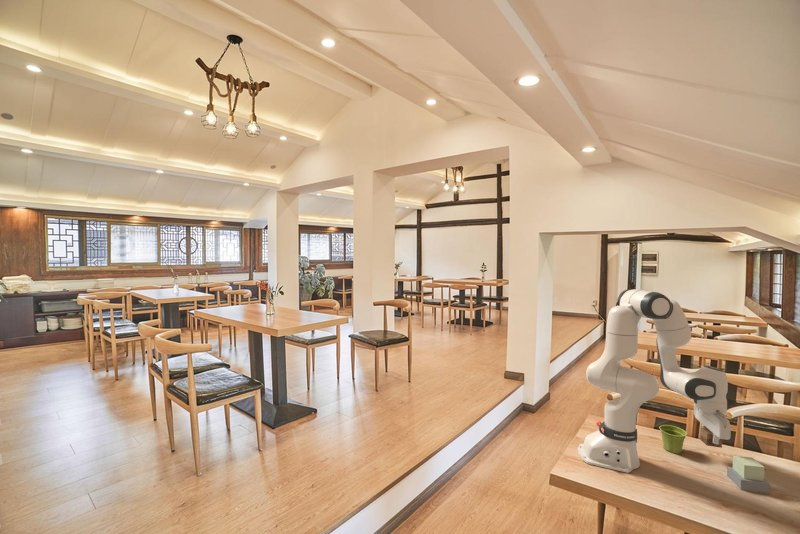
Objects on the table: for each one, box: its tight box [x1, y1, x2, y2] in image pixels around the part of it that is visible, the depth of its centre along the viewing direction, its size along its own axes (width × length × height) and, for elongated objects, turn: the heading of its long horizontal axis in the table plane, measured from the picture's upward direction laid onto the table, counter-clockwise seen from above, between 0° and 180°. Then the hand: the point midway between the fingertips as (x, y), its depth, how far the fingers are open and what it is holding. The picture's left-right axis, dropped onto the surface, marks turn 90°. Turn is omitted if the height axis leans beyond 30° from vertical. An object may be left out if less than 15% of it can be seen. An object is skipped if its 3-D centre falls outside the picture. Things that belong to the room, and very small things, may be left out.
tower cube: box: [732, 455, 765, 481], centre depth 129 cm, size 6×6×5 cm
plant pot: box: [659, 424, 688, 454], centre depth 152 cm, size 9×9×9 cm
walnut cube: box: [700, 427, 723, 448], centre depth 144 cm, size 5×5×5 cm
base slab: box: [726, 466, 770, 495], centre depth 129 cm, size 8×8×4 cm
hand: (710, 439), depth 144 cm, fingers closed on walnut cube, 5 cm apart
